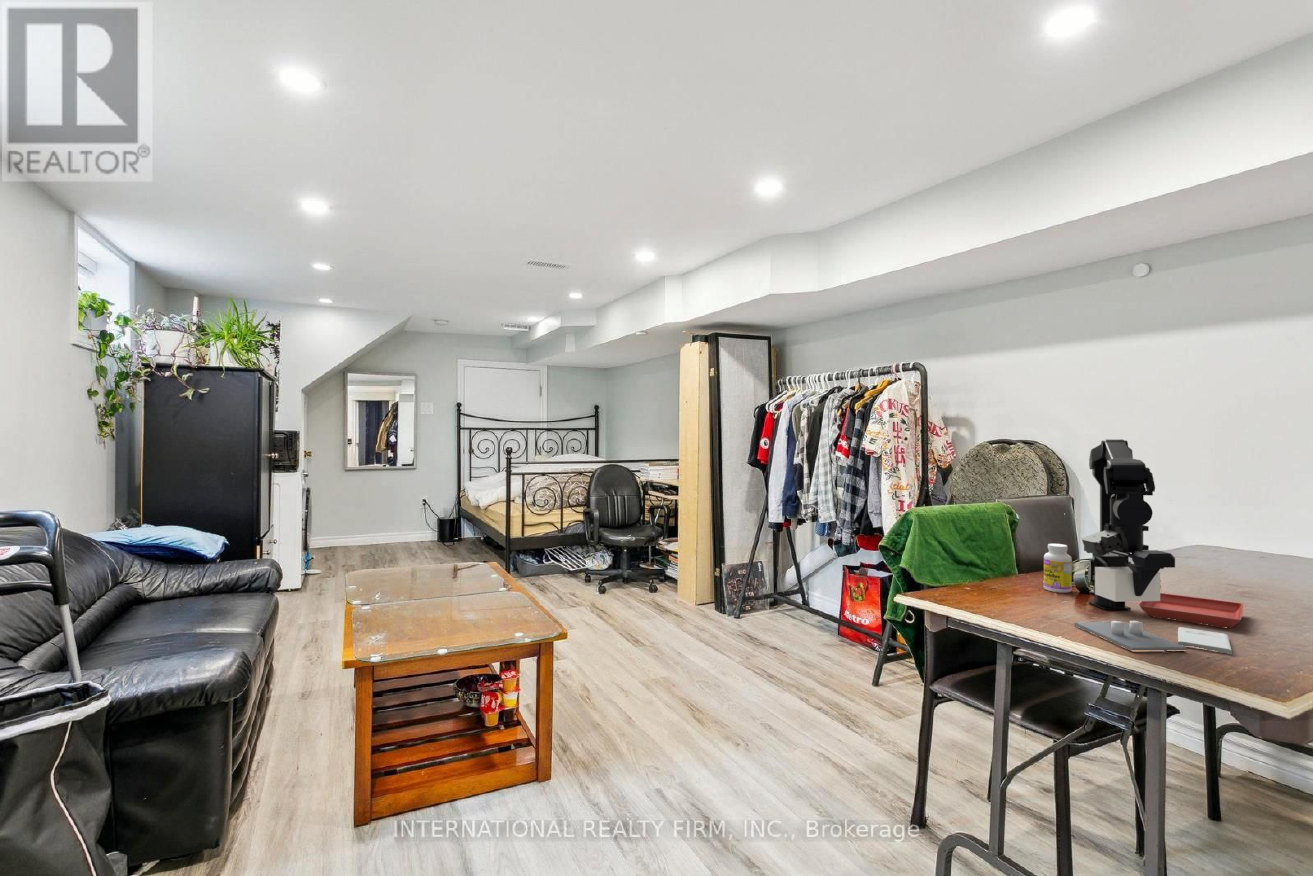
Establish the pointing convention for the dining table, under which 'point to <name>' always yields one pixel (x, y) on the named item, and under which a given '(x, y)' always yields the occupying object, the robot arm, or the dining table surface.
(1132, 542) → the robot arm
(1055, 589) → the supplement bottle
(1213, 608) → the plant saucer
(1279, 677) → the dining table surface
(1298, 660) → the dining table surface
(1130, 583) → the block
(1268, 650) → the dining table surface
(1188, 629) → the external hard drive
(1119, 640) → the base plate
